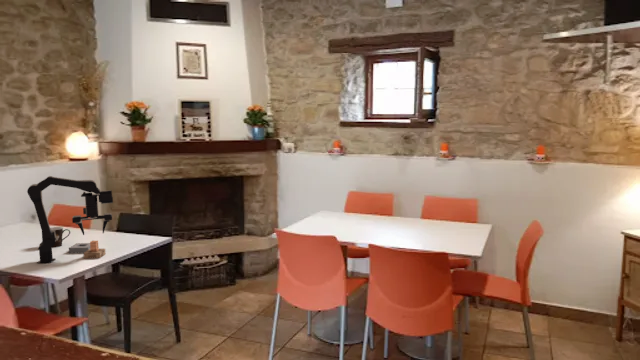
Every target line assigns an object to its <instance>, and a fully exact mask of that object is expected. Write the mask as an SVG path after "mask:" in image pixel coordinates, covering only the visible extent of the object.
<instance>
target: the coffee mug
mask: <svg viewBox="0 0 640 360" xmlns="http://www.w3.org/2000/svg"><path fill="white" fill-rule="evenodd" d="M50 228H51V230H52V231H53V230H55V234H56V236H57V240H56V242H55V245H54V246H53V247H52V248H59V247H61V246H63V241H64V240H65V239H66V238H68V237H69V236H70V234H71V231H70V229H68V228H67V229H64V228H63V227H61V226H53V227H50ZM66 231H68V234H67V235H66V236H65V237H64V238H63V234H64V233H65V232H66Z"/></svg>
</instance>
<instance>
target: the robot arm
mask: <svg viewBox="0 0 640 360" xmlns="http://www.w3.org/2000/svg"><path fill="white" fill-rule="evenodd" d="M52 185H53V186H60V187H66V188H74V189H78V190H81V191H83V192H82V193H81V194H80V197H81V198H84V200H85V201H84V202H85V204H84V205H85V207H83V208H82V211H83V212H82V213H83V215H85V216H82V215H80V214H79V215H73V216H72V218H71V221H72V224H75V225H78V228H79V229H80V231H81V233H82V235H83V236H85V231H84V225H83V221H90V220H91V221H92V220H101V219H102V220H103V221H102V234H104V233H105V229H106V226H107V225H108V223H109V222H110V221H112V220H113V214H112V213H111V212H107V213H103V214H100V215H99V205H98V203H101V205H104V204H105V205H106V204H113V203H114V199H113V198H114V197H113V191H112V190H111V189H108V190H100V188H99V187H98V186H97V183H96V182H95V180H92V179H81V180H80V179H79V180H78V179H77V180H76V179H71V178H64V177H57V176H51V175H49V176H47V177H46V178H44V179H43V180H41V181H39V182H38V183H32V184H31V185H30V186H29V187H28V188H27V191H26V192H27V194H28V196H29V199H30V200H31V202H32V204H33V205H34V208H35V212H36V215H37V219H38V223H39V226H40V229H41V243H39V245H38V251H39V254H38V255H39V260H38V261H37V262H36V263H37V264H51V263H53V262H54V261H55V260H56V258H54V257H53V248H54V247H53V246H54V245H55V242H56V240H57V236H56V234H55V230H53V231H52V230H51V228H52V227H51V225H50V222H49V220H48V216H47V212H46V210H45V206H44V202H43V191H44V190H45V189H48V187H50V186H52ZM93 193H94V194H93Z"/></svg>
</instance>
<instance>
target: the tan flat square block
mask: <svg viewBox="0 0 640 360" xmlns="http://www.w3.org/2000/svg"><path fill="white" fill-rule="evenodd" d="M105 255H106V248H99V251H98V252H91V250H90V249H89V250H87V251H86V252H84V253H83V259H85V260H86V259H101V258H103V257H104V256H105Z"/></svg>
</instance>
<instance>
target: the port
mask: <svg viewBox="0 0 640 360" xmlns="http://www.w3.org/2000/svg"><path fill="white" fill-rule="evenodd" d="M89 249H90V242H77V243H74V244H73V245H70V247H68V254H84V252H86V251H87V250H89Z"/></svg>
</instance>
